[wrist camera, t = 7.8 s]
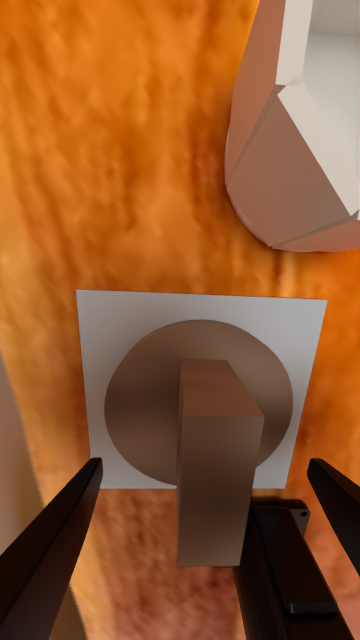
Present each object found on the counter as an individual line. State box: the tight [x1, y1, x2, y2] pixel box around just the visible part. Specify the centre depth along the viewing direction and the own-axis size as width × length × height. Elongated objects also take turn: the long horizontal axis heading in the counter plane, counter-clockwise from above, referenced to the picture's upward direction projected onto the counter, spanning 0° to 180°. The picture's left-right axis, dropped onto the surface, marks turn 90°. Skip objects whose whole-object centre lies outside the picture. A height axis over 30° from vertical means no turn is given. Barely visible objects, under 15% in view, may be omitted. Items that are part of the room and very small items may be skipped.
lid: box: [104, 319, 293, 567], centre depth 9 cm, size 11×11×5 cm
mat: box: [76, 289, 328, 489], centre depth 11 cm, size 14×14×1 cm
